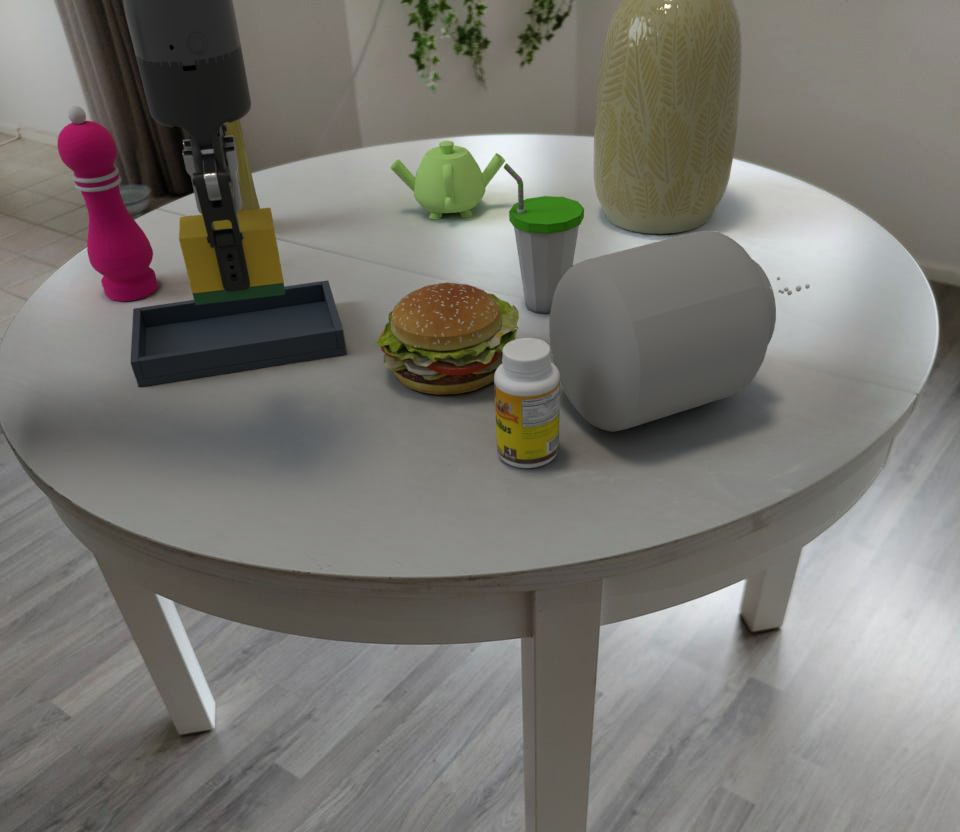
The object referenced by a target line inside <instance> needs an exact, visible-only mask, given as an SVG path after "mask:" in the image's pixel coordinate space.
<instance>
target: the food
mask: <svg viewBox="0 0 960 832" xmlns="http://www.w3.org/2000/svg"><path fill="white" fill-rule="evenodd" d="M519 314H520V313H519V310H518V308H517V307H516V306H515V305H511V304H510V303H509V302H508V301H506V300H502V299H501V298H499V297H497V296H496V294H494V293H489V292H487V291H485V290H484V289H481V288H478V287H477V286H473V285H470V284H465V283H458V282H440V283H439V282H438V283H435V284H428V285H425V286H423V287H420V288H418V289H415V290H414V291H410V292H409V293H408V294H407V295H405V296H404V297H402V298H401V299H400V300H399V301H398V302H397V303H396V304H395V305H394V307H393V309H392V310H391V311H390V312H389V313H388V323H386V324H385V326H384V329H383V331H382V332H381V333H380V335H379V338H378V339H376V341H375V343H376V345H377V346H378V347H380V351H381V352H382V353H384V355H383V364H384V366H385V367H386V369H387V370H388V371H391V372H393V374H394V376H395V377H396V378H397V380H398V381H400V382H401V384H402V385H403V386H404V387H406V388H408V389H411V390H414V391H416V392H419V393H424V394H429V395H435V396H439V395H459V394H465V393H469V392H473V391H477V390H479V389H481V388H483V387H486V386H488V385H490V384H491V383H494V375H495V371H496V370H497V368H498V367H499V366H500V365H501V364H502V359H503V347H504V346H505V345H506V344H507V343H508V342H510V341H513V340H516V335H517V331H518V329H519V327H518V321H519V319H520V316H519Z"/></svg>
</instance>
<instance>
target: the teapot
mask: <svg viewBox="0 0 960 832" xmlns="http://www.w3.org/2000/svg"><path fill="white" fill-rule="evenodd" d="M438 145H439V146H436V147H432V148H431V149H429V150H427V151H426V152H425V154H424V155H423V157H422V158H421V161H420V163H419V165H418V168H417V170H416V172H415V175H414V174H413V173H412V172H411V171H410V170H409V169H408V168H407V166H406V165H405V164H404V163H403V162H402V161H401V160H400V159H396V160H395V161H394V162H393V163H392V164H391V166H390V170H391V171H393V173H394V174H395V175H396V176H397V177H398V178H399V179H400V180H401V181H403V183H404V184H405V185H406V186H407V187H408V188H409V189H410V190H411V191H412V192H413V197H414V199H415V201H416V202H417V203H418V204H419V205H420V206H421V207H422V208H423V209H424V210H426V211H427V212H430V214H429V216H428V218H429V219H431V220H440V219H442V218H443V214H454V213H459V216H460V217H461V218H471V217H473V216H474V214H473V212H472V210H471V209H474V208H475V207H477V205H479V204H480V202H481V200H482V199H483V198H484V196H485V194H486V188H487V186H488V185H489V184H490V183H491V181H492V179H493V178H494V177H495V176H496V175H497V173H498V172H499V170H500V169H501V168H502V166H503V165H505V163H506V159H505V158H504V157H503V156H502V155H501V154H499V153H497V152H496V153H495V154H494V155H493V157H492V158H491V160H490V161H489V162H488V164H487V166H486V167H485V168H484V170H483V171H482V169H481V168H480V165H479V164H478V162H477V161H476V159H475V158H474V156H473V154H472V153H471V151H470V150H469V149H467V148H466V147H465V146H460V145H455V142H454V141H453V140H452V141H451V140H443V141H440V142H439V143H438Z"/></svg>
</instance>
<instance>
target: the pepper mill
mask: <svg viewBox="0 0 960 832" xmlns="http://www.w3.org/2000/svg"><path fill="white" fill-rule="evenodd" d="M67 117H68V119H69V121H70V123H68V124H67V125H65V126H64V127H63V128H62V129H61V130H60V132H59V134H58V136H57V141H56V142H57V143H56V144H57V151H58V155H59V157H60V159H61V161H62V163H63V164H64V165H65V166H66V167H67V168H68V169H70V170H71V171H72V175H71V178H72V179H71V180H73V182H74V188H75V190H77V191H80V193H81V196H82V197H83V200H84V202H85V206H86V209H87V214H88V230H87V240H86V249H87V250H86V251H87V257H88V260H89V264H90V265H91V267H92V268H93V269H94V270H95V271H96V272H97V273H98V274H100V275H102V277H101V280H100V282H101V285H102V289H103V292H104V295H105V296H106V297H107V298H108V299H109V300H112V301H116V302H134V301H137V300H141V299H145V298H147V297H149V296H150V295H152V294H154V293H155V292H156V291H157V289H158V288H159V283H158V279H157V276H156V271H155V270H154V269H153V268H151V267H150V265H151V263H152V261H153V257H154V251H153V247H152V245H151V242H150V240H149V239H148V237H147V235H146V233H145V232H144V230H143V229H142V228H141V227H140V225H139V224H138V222H137V221H136V220H135V219H134V217H133V216H132V215H131V213H130V212H129V209H127V207H126V204H125V202H124V199H123V196H122V194H121V190H120V189H121V188H120V184H121V182H122V177H121V175H120V174H119V172H120V170H119V167H117V166H115V165H114V164H115V161H116V159H117V156H118V148H117V144H116V141H115V138H114V137H113V135H112V134H111V132H110V131H109V130H108V129H107V128H106V127H105V126H104V125H102V124H100V123H98V122H96V121H93V120H87V115H86V112H85V110H84V109H83V108H82V107H80V106H78V105H72V106H71V107H69V108H68V110H67Z"/></svg>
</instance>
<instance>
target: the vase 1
mask: <svg viewBox="0 0 960 832" xmlns="http://www.w3.org/2000/svg"><path fill="white" fill-rule="evenodd" d="M224 125H226V128H227V132H226V131H225V132H226V136H230V135H234V140H235V144H236V150H237V157H238V159H237V160H238V174H239V180H240V186H241V191H240V194H241V200H242V209H241V210H240V211H242V210H251V209H261V207H260V203H259V199H258V195H257V192H256V187H255V182H254V179H253V174H252V169H251V165H250V161H249V157H248V152H247V147H246V143H245V139H244V138H245V137H244V134H243V129H242V124H241V119H239V120H237V121H234V122H226V123H224Z"/></svg>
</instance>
